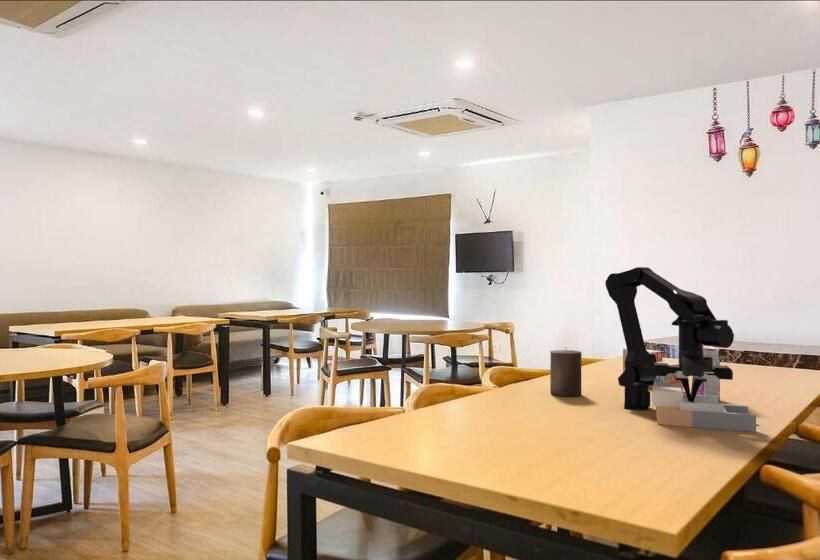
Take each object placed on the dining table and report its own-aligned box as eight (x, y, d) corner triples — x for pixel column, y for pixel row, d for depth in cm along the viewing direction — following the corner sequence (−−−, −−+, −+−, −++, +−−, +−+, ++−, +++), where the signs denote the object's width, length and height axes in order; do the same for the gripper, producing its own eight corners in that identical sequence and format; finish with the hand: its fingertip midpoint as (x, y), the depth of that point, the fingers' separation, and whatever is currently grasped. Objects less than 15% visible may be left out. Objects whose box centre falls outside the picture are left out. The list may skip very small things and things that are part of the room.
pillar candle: (582, 397, 186) (583, 349, 186) (550, 396, 187) (551, 348, 188) (579, 392, 195) (580, 346, 195) (549, 390, 197) (549, 345, 197)
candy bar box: (692, 396, 188) (692, 344, 188) (709, 397, 187) (709, 344, 187) (702, 403, 177) (702, 348, 177) (720, 404, 176) (720, 348, 176)
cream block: (653, 406, 155) (653, 390, 155) (652, 401, 162) (652, 386, 161) (682, 408, 153) (683, 392, 153) (680, 402, 159) (680, 387, 159)
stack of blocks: (684, 392, 195) (684, 354, 195) (669, 393, 193) (669, 355, 193) (636, 381, 215) (636, 347, 215) (622, 382, 213) (622, 348, 213)
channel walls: (679, 409, 151) (679, 401, 151) (675, 400, 162) (676, 393, 162) (723, 412, 147) (723, 404, 147) (717, 403, 158) (717, 396, 158)
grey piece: (657, 424, 152) (657, 408, 152) (655, 414, 164) (655, 399, 164) (756, 432, 145) (756, 415, 145) (747, 420, 156) (747, 405, 156)
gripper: (653, 346, 151) (653, 407, 151) (736, 348, 144) (736, 413, 144) (651, 341, 161) (651, 399, 161) (729, 344, 155) (729, 404, 155)
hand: (690, 404), depth 155 cm, fingers closed
